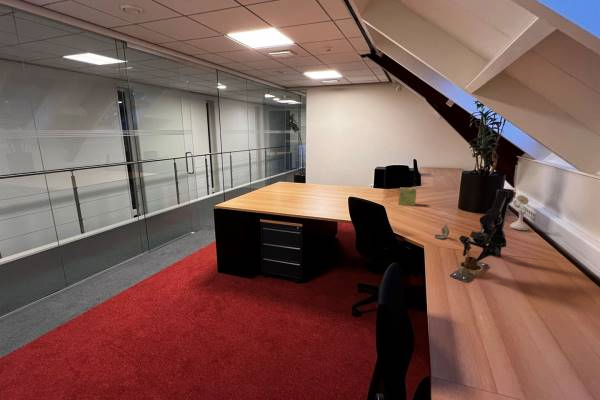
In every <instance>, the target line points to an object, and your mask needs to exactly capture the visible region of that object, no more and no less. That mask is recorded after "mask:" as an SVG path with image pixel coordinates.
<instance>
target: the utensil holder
mask: <svg viewBox="0 0 600 400" xmlns="http://www.w3.org/2000/svg"><path fill="white" fill-rule="evenodd" d="M477 256H478V254H477V251H474V253H473V254H471V256H470V250H469V251H468V250H466V257H465V260H464V261H465V262H464V268H467V269H470V270H477Z"/></svg>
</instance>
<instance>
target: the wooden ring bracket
mask: <svg viewBox="0 0 600 400" xmlns="http://www.w3.org/2000/svg"><path fill="white" fill-rule="evenodd" d="M464 262H465V260H463V261H459V262H458V265H457V270H455V271H453V272H452V273H450V274H449V277H450V278H453V279H455V280H459V281H462V282H464V283H468V282H470V281H471V280H472V279H473V278H475V277H481V276H482V275H483V274H484V273H483V272H484V270H486V269H487V268H489V267H490V264H488V263H484V262H482V261H478V262H477V270H470V269H467V268H464Z"/></svg>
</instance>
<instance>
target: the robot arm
mask: <svg viewBox="0 0 600 400" xmlns="http://www.w3.org/2000/svg"><path fill="white" fill-rule="evenodd" d="M495 193H496V195H495V196H496V197H495V200H494V201H493V204H492V206H491V208H490V209H488V210H487V211H486V213H485V214H484V215H483V216H481V217H480V218H479V224H480V227H481V229H480V230H479V231H477V232H476V231H474V230H472V231H471V232H470V235H469V236H467V235H460V237H459V238H458V240H459V241H460V243H461V245H463V252H462V256H463V257H465V256H467V254H466V250H468V251H469V252H470V250H471V249H472V247H471V246H475V247H478V248H481V249H482V251H481V252H480V253H479V255H478V257H476V259H477V262H481V260H484V259H485V258H487V257H490V256H491V257H496V258H502V249H503V248H506V247H507V239H506V234H505V231H504V226H505V222H506V217H507V213H508V208H509V205H510V204H512V203H513V202H514V199H515V198H516V197H517V196H516V195H517V191H515V190H514V189H512V188H504V187H501V188H500V189H496V192H495ZM470 238H472V240H471V239H470Z"/></svg>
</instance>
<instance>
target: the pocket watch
mask: <svg viewBox="0 0 600 400" xmlns="http://www.w3.org/2000/svg"><path fill="white" fill-rule="evenodd" d="M447 226H448V223H444V226H442V227H441V230H440V231H441V234H435V235H434V238H435V239H438V240H445V239H446V237H448V236H449V235H450V230H449V228H448V227H447Z"/></svg>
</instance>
